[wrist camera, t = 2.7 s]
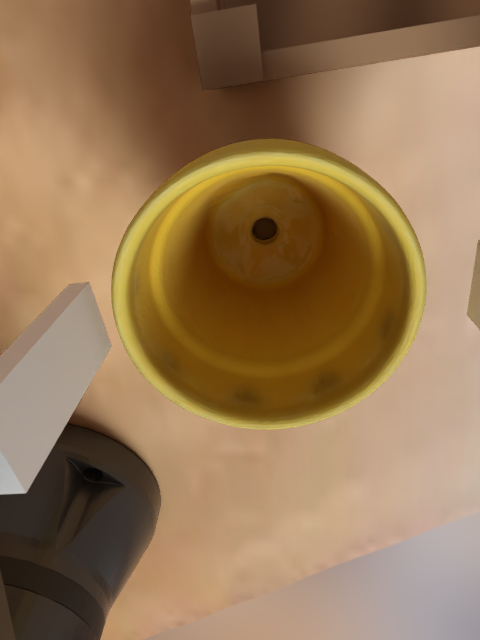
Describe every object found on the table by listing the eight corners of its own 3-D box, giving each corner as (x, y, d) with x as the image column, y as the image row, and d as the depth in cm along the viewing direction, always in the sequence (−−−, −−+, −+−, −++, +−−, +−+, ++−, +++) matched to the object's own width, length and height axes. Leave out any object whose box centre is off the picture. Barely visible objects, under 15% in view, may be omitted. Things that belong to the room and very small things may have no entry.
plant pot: (167, 107, 19) (96, 127, 11) (386, 132, 20) (483, 170, 11) (165, 302, 25) (116, 419, 16) (338, 321, 25) (379, 445, 16)
